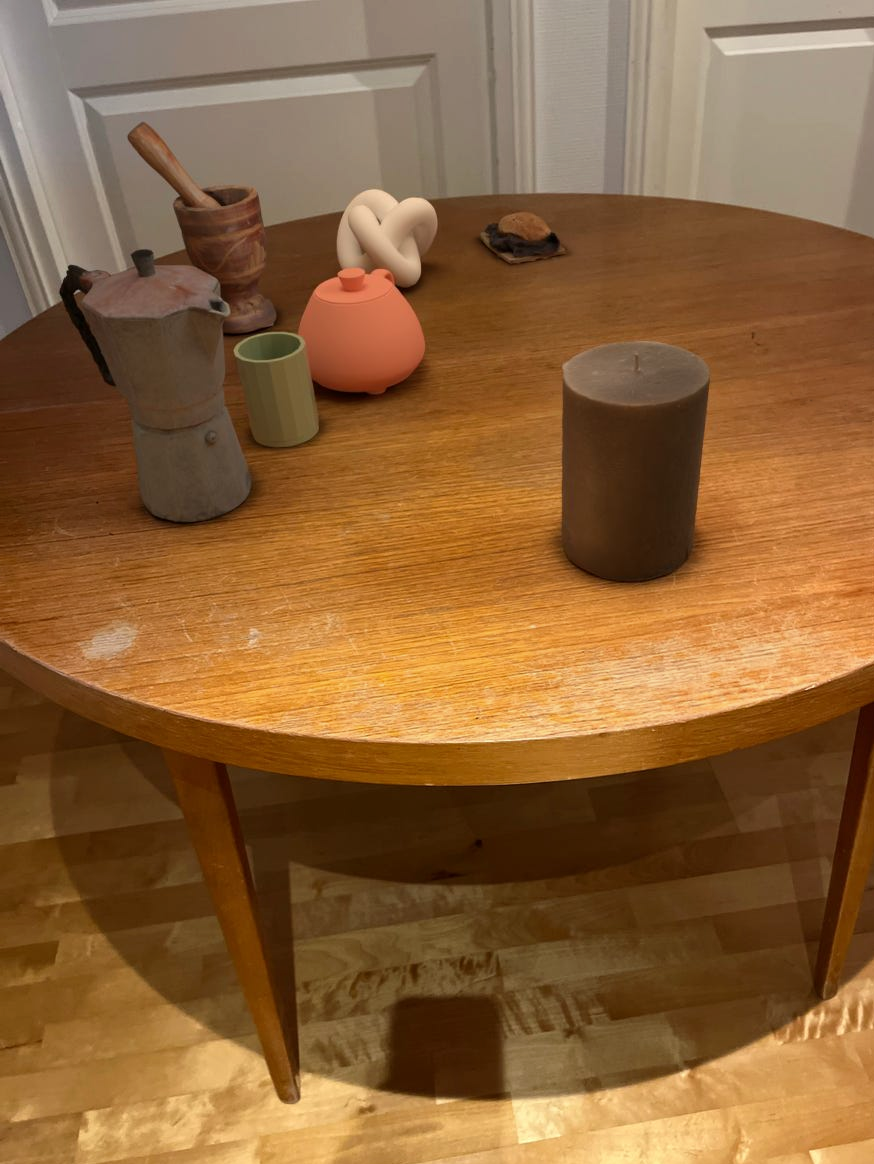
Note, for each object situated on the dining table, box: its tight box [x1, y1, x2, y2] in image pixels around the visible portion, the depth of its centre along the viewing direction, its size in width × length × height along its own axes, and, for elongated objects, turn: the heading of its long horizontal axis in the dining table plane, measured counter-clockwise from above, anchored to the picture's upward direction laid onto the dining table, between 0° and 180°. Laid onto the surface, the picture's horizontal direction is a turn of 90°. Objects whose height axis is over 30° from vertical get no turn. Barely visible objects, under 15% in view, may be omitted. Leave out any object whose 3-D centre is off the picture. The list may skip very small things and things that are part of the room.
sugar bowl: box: [297, 268, 426, 395], centre depth 93 cm, size 12×14×10 cm
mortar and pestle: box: [126, 121, 278, 334], centre depth 101 cm, size 12×9×20 cm
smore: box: [479, 211, 566, 265], centre depth 120 cm, size 11×8×4 cm
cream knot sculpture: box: [336, 188, 438, 289], centre depth 112 cm, size 11×12×9 cm
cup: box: [232, 331, 320, 448], centre depth 86 cm, size 6×6×8 cm
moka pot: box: [58, 248, 253, 523], centre depth 74 cm, size 10×15×20 cm, turn 70°
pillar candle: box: [560, 340, 711, 582], centre depth 68 cm, size 10×10×15 cm
